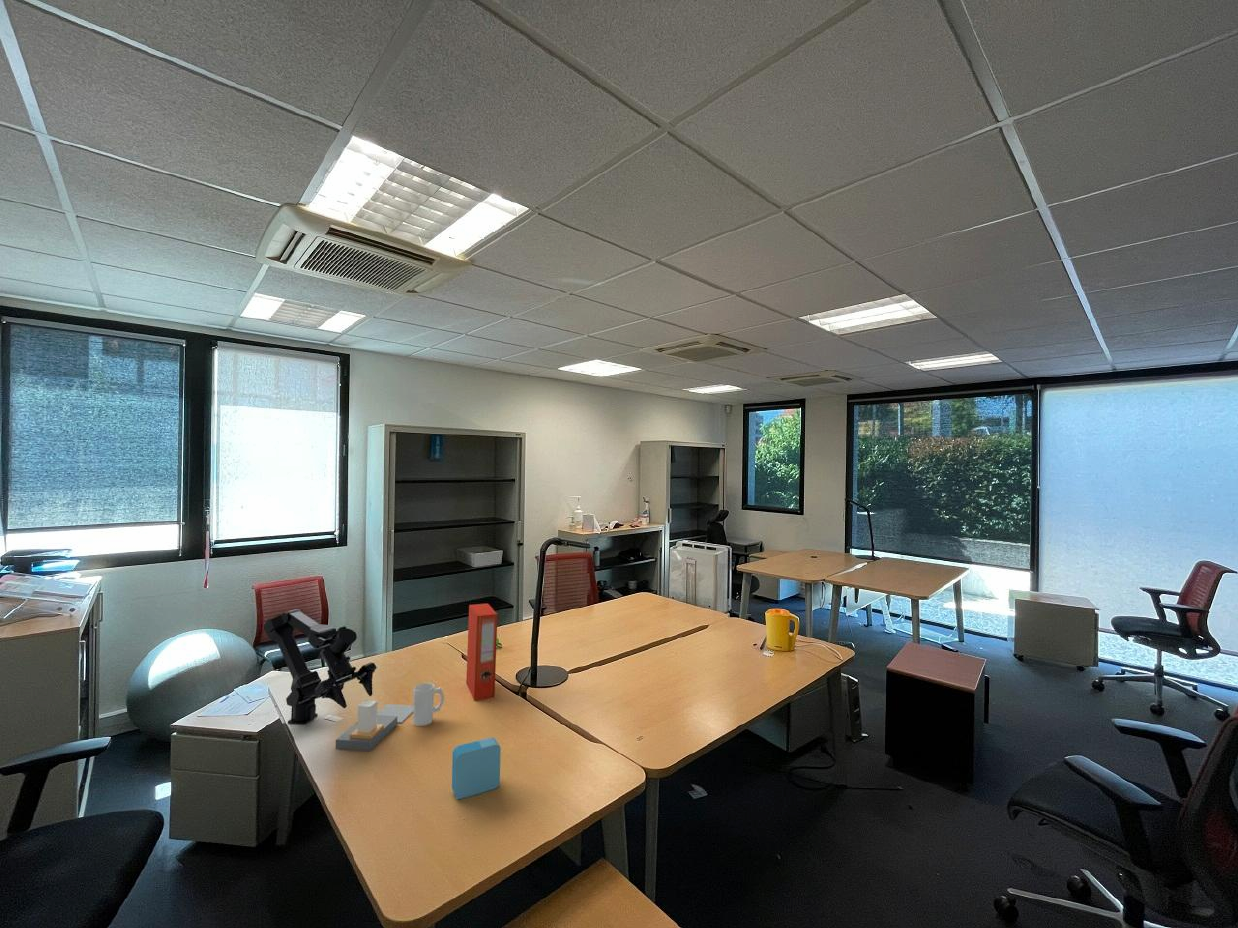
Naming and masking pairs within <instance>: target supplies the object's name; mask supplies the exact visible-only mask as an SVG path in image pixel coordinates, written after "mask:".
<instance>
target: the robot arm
mask: <svg viewBox="0 0 1238 928" xmlns="http://www.w3.org/2000/svg"><path fill="white" fill-rule="evenodd" d="M295 629H296V630H297V631H299V632H300V633H302V634H303V635H304V636H305V637H307V643H308V644H310V646H312V648H314V649H317V650H318V649H320V648H323V647H324V648H323V649H321V650H320V651H319V654H318V659H319V660H322V659H323V660H324V662H325V664H326V665H327V668H328V670H327V675H328V678H327V679H324V680H322V679H321V677H320V675H319V672H318V671H317V670H314V671H312V670H309V667H308V666H307V663H306V660H305V659H304V657H303V654H302V652H301V650H300V648H299V646H298V644H297V641H296V639H295V636H294V632H295ZM263 631H264V632H265V634H266V635H267V637H268V639H270V640H271V641H273V642H274V643H277V646H278V647H279V650H280V652H281V655H282V657H283V659H284V661H285V664H286V665H287V668H288V670H289V673H290V675H291V678H292V682H291V686H290V690H291V692H290V694H289V695H288V696H287V697H286V698H285V702H286V705H287V706H289V707H291V714H290V718H291V719H289V720H287V724H296V725H306V724H308V722H310V721H311V720H313V719H314V718H316V717H317V716H318V713H316V712H317V708H316V707H317V705H316V700H317V699H320V698H321V699H330V700H332V701H334V702H335V703H336V704H338V705H339V706H340V707H342V708H343V709H346V708H347V707H348V704H347V701H346V698H345V696H344V694H343V692H342V690H343V689H344V687H345V686H344V685H345V684H346V683H348V682H350V681H353V680H355V679H356V680H358V681H359V682H358V684H360V685H362V686H363V688H364V690H365V692H366V694H367V695H368V697H372V696H373V675H374V673H375V671H376V669H377V668H378V667H377V665H376V664H375V662H372V661H371V662H368V663H366V664H363V665H361V667H359V669H358V670H357V667H356V666H352V665H351V662H350V660H351V657H350V656H347V655H346V654H345V653H346V652H347V651H348V650H349V649H350V648H351V647H352V646H353V644H354V643H355V641H356V640H357V638H358V637H357V633H356V631H355V630H354V629H353V630H352V629H350V628H347V627H346V625H343V626H340V627H338V629H336V628H335V626H332V625H329V624H320V623H318V622H317V621H316V620H314V619H313V618H311V617H309V616H308V615H306V613H305V614H304V613H303V612H302V610H301V609H299V608H295V609H291V610H290V609H289V610H287V611H284V612H283V613H281V614H279V615H277V616H275V617H271V618H268V619H267V620H266V622H265V623H264V624H263ZM356 670H357V671H356Z"/></svg>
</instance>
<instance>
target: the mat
mask: <svg viewBox="0 0 1238 928" xmlns="http://www.w3.org/2000/svg"><path fill="white" fill-rule="evenodd" d="M377 715H383V716H397V724H403V723H404V722H405V721H406V720H407V719H408V718H409V717H410V716H411V715H413V705H411V704H392V703H391V704H389V703H387V704H385V705H384V706H383V707H382V708H381V709H379V710H377Z"/></svg>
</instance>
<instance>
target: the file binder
mask: <svg viewBox="0 0 1238 928" xmlns="http://www.w3.org/2000/svg"><path fill="white" fill-rule="evenodd" d="M498 616H499V615H498V612H496V611H495V610H494V608H493V607H492V606H491V605H490V603H477V604H469V606H468V627H467V628H468V629H467V650H466V651H467V655H466V681H465V683H466V685H467V687H468V690H469V692H470V695H471V697H472V700H473V701H481V700H485V699H492V698H495V694H496V667H497V640H498Z"/></svg>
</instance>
